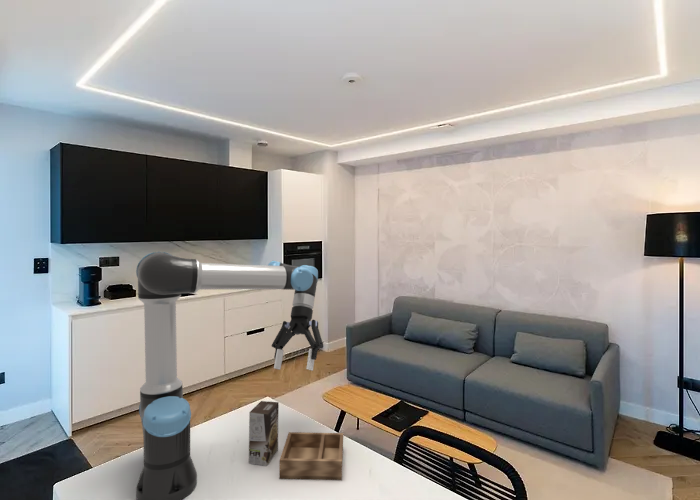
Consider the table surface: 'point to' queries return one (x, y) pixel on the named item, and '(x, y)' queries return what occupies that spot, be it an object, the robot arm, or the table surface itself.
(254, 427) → the coffee box
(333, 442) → the caddy
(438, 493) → the table surface
